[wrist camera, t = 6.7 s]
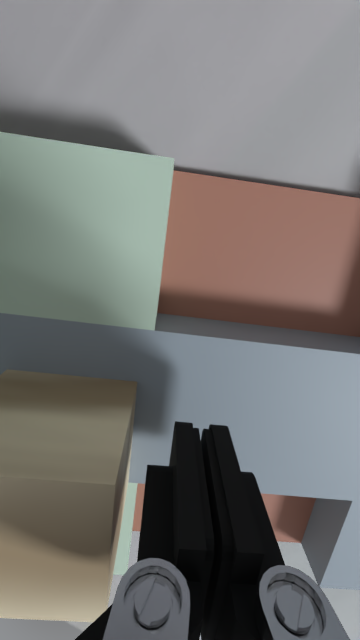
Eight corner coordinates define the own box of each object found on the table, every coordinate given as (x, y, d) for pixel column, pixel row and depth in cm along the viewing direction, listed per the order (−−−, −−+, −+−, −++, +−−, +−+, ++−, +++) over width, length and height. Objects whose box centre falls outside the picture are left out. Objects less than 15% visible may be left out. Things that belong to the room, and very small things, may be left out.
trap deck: (-42, 140, 11) (-184, 84, 6) (561, 230, 12) (774, 234, 8) (-14, 512, 16) (-84, 622, 11) (410, 543, 17) (489, 650, 13)
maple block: (6, 369, 11) (-106, 468, 6) (137, 381, 11) (114, 484, 7) (12, 473, 12) (-78, 613, 8) (128, 482, 12) (105, 622, 8)
